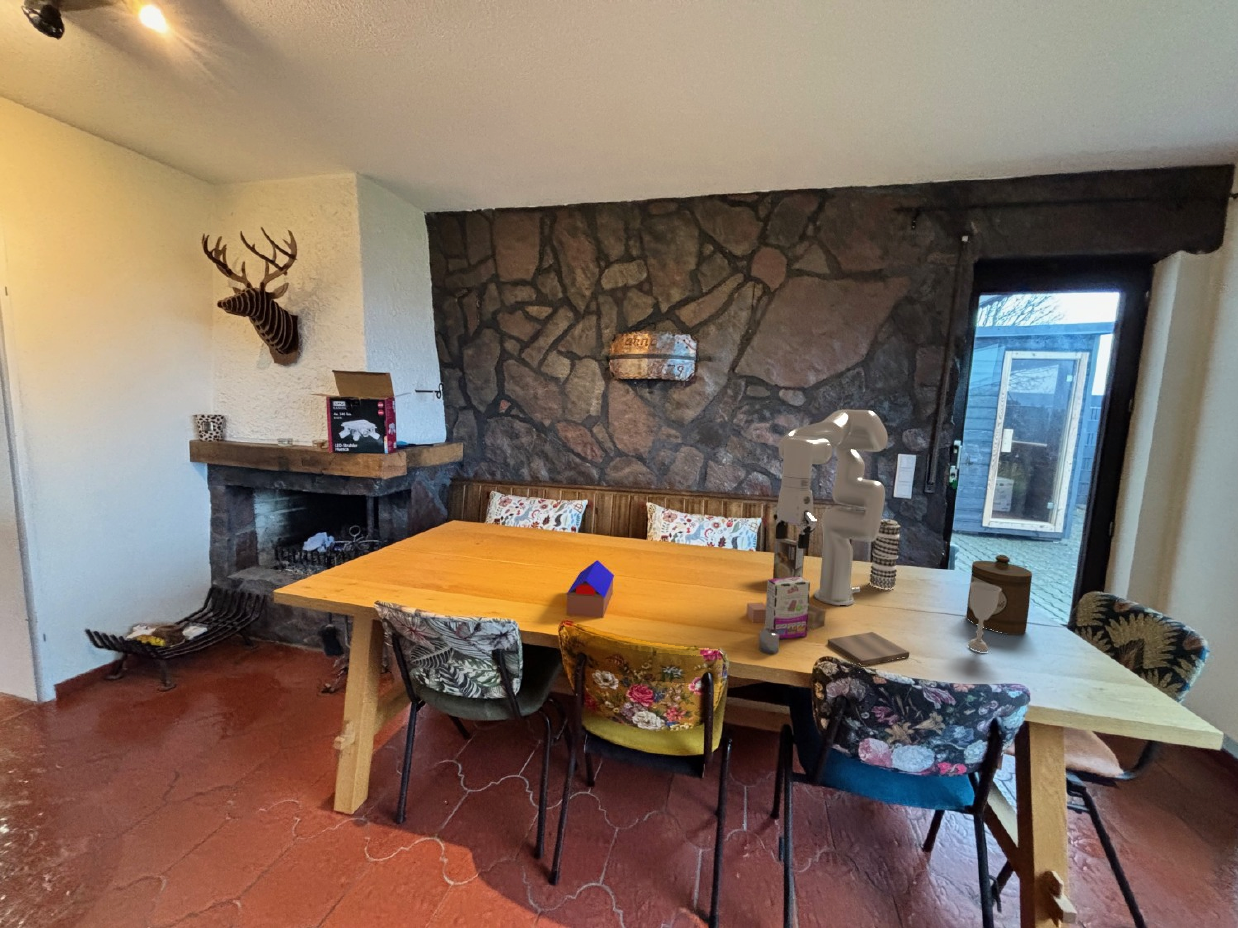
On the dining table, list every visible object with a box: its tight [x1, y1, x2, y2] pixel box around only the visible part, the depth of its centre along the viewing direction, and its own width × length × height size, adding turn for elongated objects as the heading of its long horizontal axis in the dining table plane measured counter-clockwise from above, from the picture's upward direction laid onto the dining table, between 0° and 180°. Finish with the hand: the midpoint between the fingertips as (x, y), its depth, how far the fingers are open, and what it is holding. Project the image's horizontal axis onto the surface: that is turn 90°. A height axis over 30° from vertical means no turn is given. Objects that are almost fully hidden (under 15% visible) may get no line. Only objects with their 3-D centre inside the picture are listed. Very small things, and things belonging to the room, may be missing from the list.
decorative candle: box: [869, 518, 902, 589], centre depth 181 cm, size 9×9×25 cm
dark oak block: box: [807, 603, 827, 631], centre depth 149 cm, size 6×6×5 cm
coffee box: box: [772, 538, 805, 579], centre depth 182 cm, size 9×6×16 cm
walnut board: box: [827, 631, 910, 666], centre depth 133 cm, size 16×12×2 cm
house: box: [565, 559, 615, 618], centre depth 159 cm, size 12×20×12 cm, turn 172°
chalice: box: [967, 582, 1002, 652], centre depth 135 cm, size 7×7×18 cm
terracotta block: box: [746, 602, 766, 623], centre depth 152 cm, size 5×5×4 cm
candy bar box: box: [764, 577, 811, 641], centre depth 140 cm, size 11×5×16 cm, turn 105°
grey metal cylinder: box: [758, 627, 780, 656], centre depth 132 cm, size 5×5×5 cm
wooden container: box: [965, 554, 1033, 635], centre depth 151 cm, size 15×15×22 cm
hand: (791, 543), depth 138 cm, fingers open, 9 cm apart
